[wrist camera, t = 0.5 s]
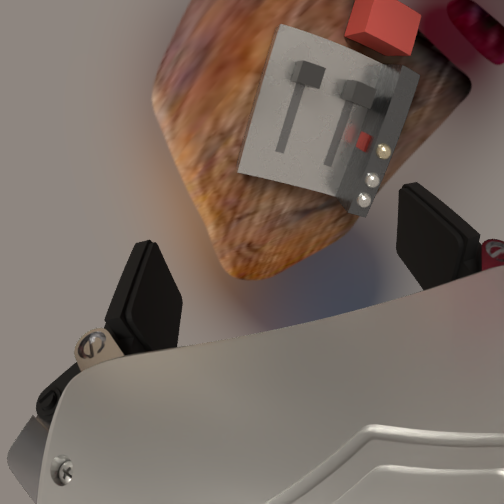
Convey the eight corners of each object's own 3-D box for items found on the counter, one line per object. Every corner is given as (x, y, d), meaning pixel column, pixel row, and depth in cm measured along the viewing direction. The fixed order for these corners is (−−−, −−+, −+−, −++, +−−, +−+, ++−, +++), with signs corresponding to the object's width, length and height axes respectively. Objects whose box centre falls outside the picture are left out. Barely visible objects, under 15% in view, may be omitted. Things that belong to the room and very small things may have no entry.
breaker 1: (296, 61, 26) (303, 60, 24) (317, 68, 27) (326, 68, 24) (290, 81, 28) (296, 81, 25) (311, 87, 28) (319, 89, 26)
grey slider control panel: (276, 28, 26) (290, 14, 20) (387, 71, 30) (424, 75, 23) (236, 164, 36) (239, 189, 29) (344, 192, 39) (368, 221, 32)
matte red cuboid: (355, -1, 24) (376, -11, 19) (395, 19, 25) (421, 15, 20) (344, 36, 27) (364, 31, 22) (385, 55, 28) (410, 55, 23)
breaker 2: (346, 79, 28) (357, 80, 25) (365, 87, 28) (376, 89, 26) (340, 98, 29) (350, 101, 26) (359, 105, 29) (370, 109, 27)
